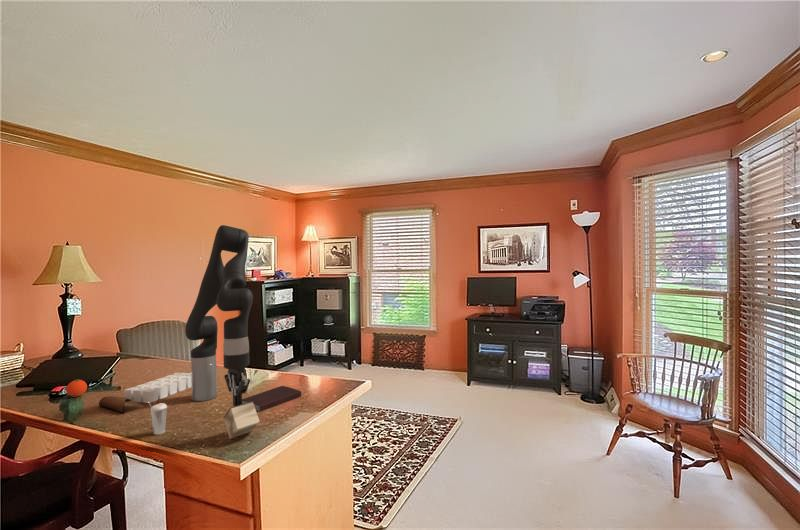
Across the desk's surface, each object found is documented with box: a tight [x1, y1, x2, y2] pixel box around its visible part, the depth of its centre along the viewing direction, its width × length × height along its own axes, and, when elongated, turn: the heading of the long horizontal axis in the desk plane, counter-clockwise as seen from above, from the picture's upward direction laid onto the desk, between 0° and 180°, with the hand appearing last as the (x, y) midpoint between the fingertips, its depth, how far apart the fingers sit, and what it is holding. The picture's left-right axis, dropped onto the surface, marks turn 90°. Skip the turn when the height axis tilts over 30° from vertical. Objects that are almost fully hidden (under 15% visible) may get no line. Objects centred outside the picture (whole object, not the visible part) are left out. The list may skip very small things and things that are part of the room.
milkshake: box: [148, 402, 168, 436], centre depth 124 cm, size 4×5×10 cm
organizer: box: [123, 371, 191, 404], centre depth 172 cm, size 13×5×35 cm
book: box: [242, 385, 302, 412], centre depth 152 cm, size 12×19×3 cm, turn 145°
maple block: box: [223, 401, 261, 440], centre depth 120 cm, size 7×7×7 cm
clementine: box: [65, 379, 88, 398], centre depth 164 cm, size 8×7×7 cm
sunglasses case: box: [98, 395, 145, 414], centre depth 149 cm, size 18×7×7 cm, turn 61°
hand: (237, 406), depth 122 cm, fingers closed
